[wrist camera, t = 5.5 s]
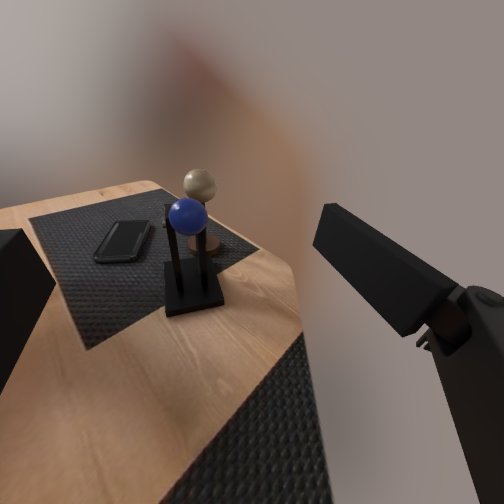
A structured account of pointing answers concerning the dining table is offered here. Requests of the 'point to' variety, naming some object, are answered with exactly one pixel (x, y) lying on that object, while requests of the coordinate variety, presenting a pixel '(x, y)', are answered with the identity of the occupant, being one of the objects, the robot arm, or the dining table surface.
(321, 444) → the dining table surface
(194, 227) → the switch lever
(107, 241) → the phone
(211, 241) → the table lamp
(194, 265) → the switch bracket
